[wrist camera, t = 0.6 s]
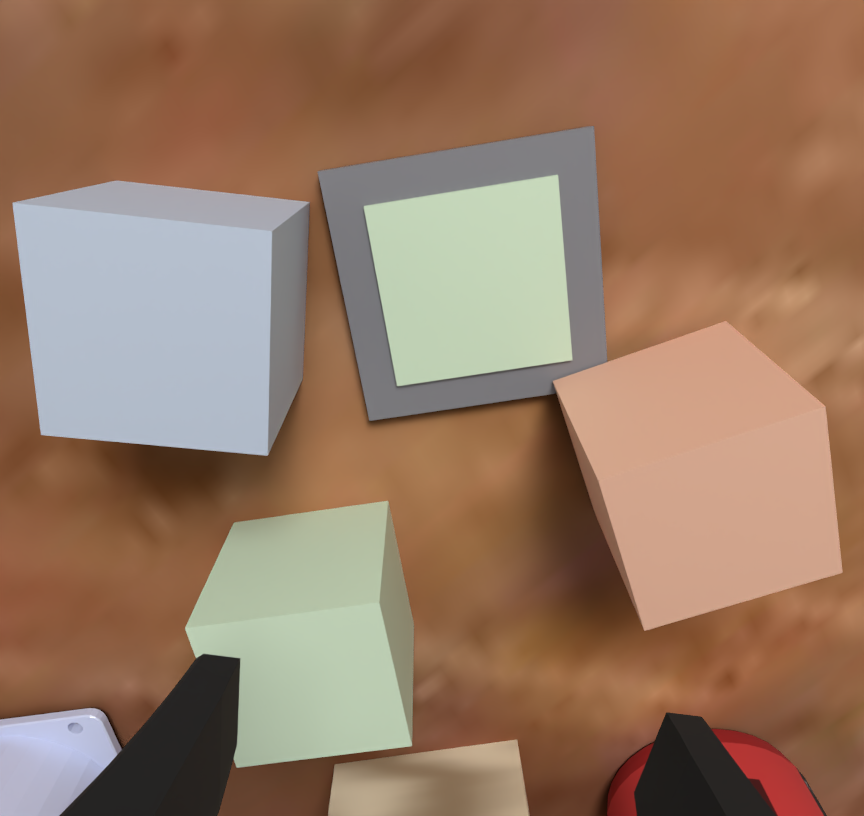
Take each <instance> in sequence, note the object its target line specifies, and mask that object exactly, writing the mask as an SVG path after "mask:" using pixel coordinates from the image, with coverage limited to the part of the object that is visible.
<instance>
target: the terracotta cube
mask: <svg viewBox="0 0 864 816" xmlns="http://www.w3.org/2000/svg"><path fill="white" fill-rule="evenodd" d="M553 384H554V387H555V390H556V393H557V396H558V400H559V403H560V406H561V409H562V412H563V415H564V418H565V422H566V425H567V428H568V431H569V434H570V437H571V440H572V443H573V447H574V450H575V453H576V456H577V459H578V462H579V465H580V469H581V472H582V475H583V478H584V481H585V484H586V487H587V491H588V494H589V497H590V500H591V503H592V506H593V509H594V512H595V515H596V517H597V519H598V522H599V524H600V527H601V529H602V531H603V534H604V536H605V538H606V541H607V543H608V546H609V548H610V550H611V553H612V555H613V557H614V560H615V562H616V565H617V567H618V569H619V572H620V574H621V576H622V579H623V581H624V584H625V586H626V588H627V591H628V593H629V595H630V598H631V600H632V603H633V605H634V607H635V610H636V612H637V614H638V617H639V619H640V622H641V624H642V626H643V629H644V631H646V630H649V629H652V628H656V627H659V626H663V625H666V624H669V623H673V622H676V621H680V620H683V619H686V618H690V617H693V616H697V615H700V614H703V613H707V612H710V611H714V610H717V609H720V608H724V607H727V606H731V605H734V604H737V603H741V602H744V601H748V600H751V599H754V598H758V597H761V596H765V595H768V594H771V593H775V592H778V591H782V590H785V589H788V588H792V587H795V586H799V585H802V584H805V583H809V582H812V581H816V580H819V579H822V578H826V577H829V576H833V575H836V574H839V573H842V563H841V553H840V544H839V534H838V524H837V514H836V505H835V495H834V485H833V475H832V465H831V456H830V446H829V436H828V426H827V417H826V407H825V406H824V405H823V404H822V403H821V402H820V401H818V400H817V399H816V398H815V397H814V396H813V395H811V394H810V393H809V392H808V391H807V390H806V389H804V388H803V387H802V386H801V385H800V384H799V383H798V382H796V381H795V380H794V379H793V378H792V377H791V376H789V375H788V374H787V373H786V372H785V371H784V370H782V369H781V368H780V367H779V366H778V365H777V364H775V363H774V362H773V361H772V360H771V359H770V358H768V357H767V356H766V355H765V354H764V353H763V352H761V351H760V350H759V349H758V348H757V347H756V346H754V345H753V344H752V343H751V342H750V341H749V340H747V339H746V338H745V337H744V336H743V335H742V334H740V333H739V332H738V331H737V330H736V329H735V328H733V327H732V326H731V325H730V324H729V323H728V322H726V321H724V322H721V323H719V324H716V325H713V326H710V327H707V328H704V329H701V330H698V331H696V332H693V333H690V334H687V335H684V336H681V337H678V338H675V339H672V340H670V341H667V342H664V343H661V344H658V345H655V346H652V347H649V348H646V349H644V350H641V351H638V352H635V353H632V354H629V355H626V356H623V357H621V358H618V359H615V360H612V361H609V362H606V363H603V364H600V365H597V366H595V367H592V368H589V369H586V370H583V371H580V372H577V373H574V374H571V375H569V376H566V377H563V378H560V379H557V380H554V381H553Z"/></svg>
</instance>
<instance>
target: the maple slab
mask: <svg viewBox="0 0 864 816" xmlns="http://www.w3.org/2000/svg"><path fill="white" fill-rule="evenodd" d="M328 816H530V813H529V807H528V801H527V795H526V790H525V784H524V778H523V772H522V766H521V760H520V754H519V748H518V742H517V740H510V741H503V742H496V743H488V744H481V745H474V746H466V747H459V748H452V749H444V750H437V751H430V752H422V753H415V754H408V755H400V756H393V757H385V758H378V759H371V760H363V761H356V762H349V763H341V764H335V766H334V774H333V781H332V788H331V796H330V803H329V811H328Z"/></svg>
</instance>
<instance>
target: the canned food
mask: <svg viewBox="0 0 864 816" xmlns="http://www.w3.org/2000/svg"><path fill="white" fill-rule="evenodd" d="M711 730H712V731H713V732H714V734H715V735H716V736H717V738H718V739H719V740H720V742H721V743H722V744H723V746H724V747H725V748H726V750H727V751H728V752H729V754H730V755H731V756H732V758H733V759H734V760H735V762H736V763H737V764H738V766H739V767H740V768H741V770H742V771H743V772H744V774H745V775H746V776H747V778H748V779H749V780H750V782H751V783H752V784H753V786H754V787H755V788H756V790H757V791H758V792H759V794H760V795H761V796H762V798H763V799H764V800H765V801H766V803H767V804H768V805H769V807H770V808H771V809H772V811H773V812H774V813H775V814H776V816H827V815H826V813H825V812H824V810H823V808H822V807H821V805H820V803H819V801H818V800H817V798H816V796H815V795H814V793H813V791H812V789H811V788H810V786H809V784H808V783H807V781H806V779H805V778H804V776H803V775H802V774H801V773H800V772H799V770H798V769H797V768H796V767H795V766H794V765H793V764H792V763H791V762H790V761H789V760H788V759H787V758H786V757H785V756H784V755H783V754H782V753H781V752H780V751H779V750H777V749H776V748H774V747H773V746H772V745H770V744H769V743H768V742H766V741H764V740H761V739H759V738H757V737H755V736H753V735H749V734H746V733H742V732H738V731H732V730H722V729H711ZM653 744H654V743H652V744H650V745H648V746H646V747H644V748H643V749H642V750H640V751H639V752H638V753H636V754H635V755H633V756H632V757H631V758H630V759H629V760H628V761H627V762H626V763H625V764H624V765H623V766H622V767H621V768H620V769H619V771H618V772H617V774H616V776H615V778H614V779H613V781H612V783H611V786H610V790H609V793H608V805H607V816H637V812H636V805H635V798H634V791H635V788H636V786H637V784H638V781H639V779H640V776H641V774H642V771H643V769H644V766H645V764H646V761H647V759H648V757H649V754H650V752H651V749H652V747H653Z"/></svg>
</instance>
